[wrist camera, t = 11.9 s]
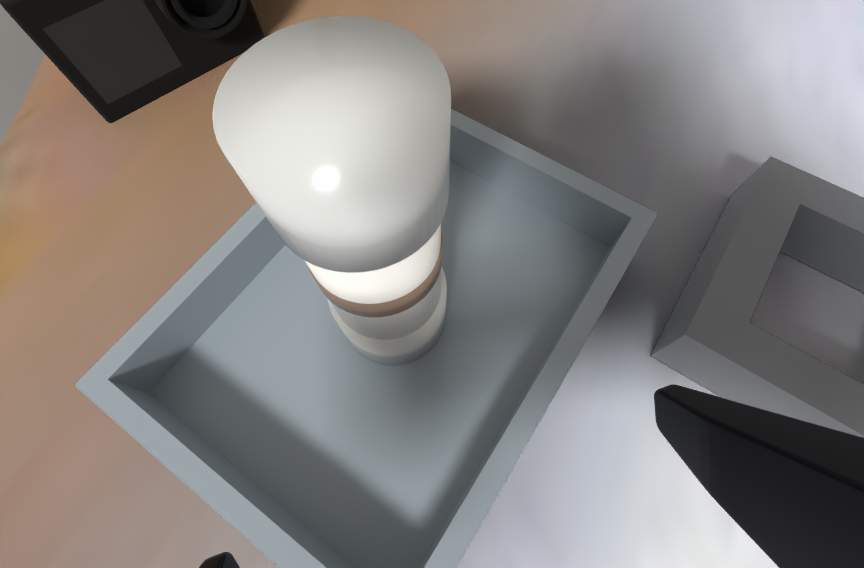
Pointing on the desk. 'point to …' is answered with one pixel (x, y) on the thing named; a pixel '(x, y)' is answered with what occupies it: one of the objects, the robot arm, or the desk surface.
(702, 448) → the robot arm
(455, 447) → the tray
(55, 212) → the desk surface
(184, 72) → the digital camera
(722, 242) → the socket block
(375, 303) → the light bulb
